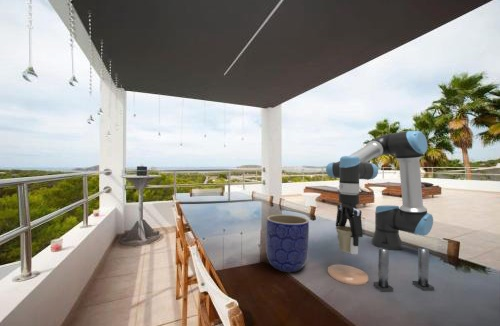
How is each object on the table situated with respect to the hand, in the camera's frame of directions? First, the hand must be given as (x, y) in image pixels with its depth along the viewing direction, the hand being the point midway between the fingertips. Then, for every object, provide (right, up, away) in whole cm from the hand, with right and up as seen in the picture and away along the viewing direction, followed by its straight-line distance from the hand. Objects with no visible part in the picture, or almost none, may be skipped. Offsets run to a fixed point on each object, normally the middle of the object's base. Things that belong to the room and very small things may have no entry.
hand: (347, 249), depth 88 cm
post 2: (+25, -11, -8) cm, 28 cm away
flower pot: (0, -1, 0) cm, 1 cm away
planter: (-24, -10, +6) cm, 27 cm away
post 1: (+9, -11, -9) cm, 16 cm away
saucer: (0, -10, 0) cm, 10 cm away
